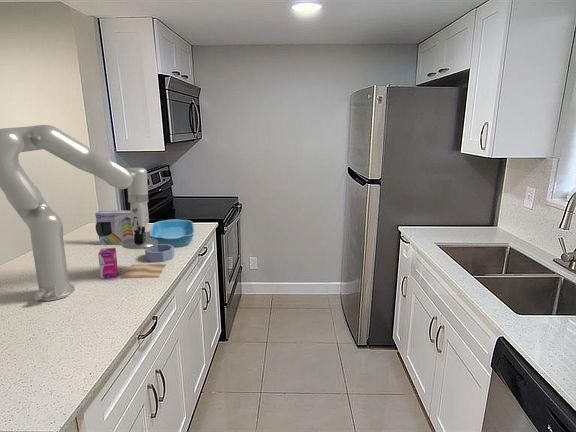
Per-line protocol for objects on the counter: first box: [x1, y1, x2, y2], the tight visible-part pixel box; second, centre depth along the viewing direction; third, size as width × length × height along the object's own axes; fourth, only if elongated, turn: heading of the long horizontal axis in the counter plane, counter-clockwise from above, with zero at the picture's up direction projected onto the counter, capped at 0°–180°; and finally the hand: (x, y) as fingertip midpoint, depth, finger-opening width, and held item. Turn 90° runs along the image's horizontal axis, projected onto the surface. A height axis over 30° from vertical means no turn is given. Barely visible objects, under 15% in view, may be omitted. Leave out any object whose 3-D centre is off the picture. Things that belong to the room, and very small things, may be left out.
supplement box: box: [97, 247, 119, 280], centre depth 150 cm, size 6×6×12 cm
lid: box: [121, 230, 158, 250], centre depth 153 cm, size 14×14×5 cm
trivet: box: [120, 263, 167, 280], centre depth 157 cm, size 15×15×1 cm
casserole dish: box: [149, 218, 195, 248], centre depth 201 cm, size 37×22×7 cm, turn 16°
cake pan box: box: [94, 209, 134, 246], centre depth 191 cm, size 19×5×18 cm, turn 92°
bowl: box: [144, 244, 175, 263], centre depth 172 cm, size 12×12×5 cm
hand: (140, 241), depth 153 cm, fingers closed on lid, 3 cm apart
